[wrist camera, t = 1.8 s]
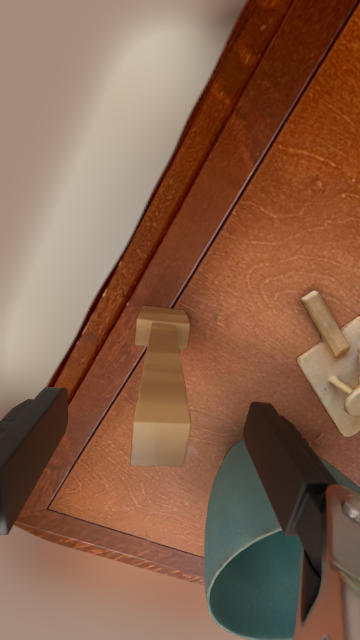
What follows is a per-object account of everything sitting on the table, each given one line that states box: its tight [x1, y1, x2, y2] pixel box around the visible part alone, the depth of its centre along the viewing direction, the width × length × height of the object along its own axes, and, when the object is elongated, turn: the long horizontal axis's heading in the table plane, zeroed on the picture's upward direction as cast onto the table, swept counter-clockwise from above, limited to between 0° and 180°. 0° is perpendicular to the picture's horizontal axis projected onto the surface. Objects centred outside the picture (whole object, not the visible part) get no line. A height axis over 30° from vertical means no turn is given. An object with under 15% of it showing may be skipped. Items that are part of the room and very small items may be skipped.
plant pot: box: [204, 439, 360, 640], centre depth 24 cm, size 18×18×12 cm
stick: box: [130, 305, 191, 467], centre depth 15 cm, size 2×4×16 cm, turn 82°
